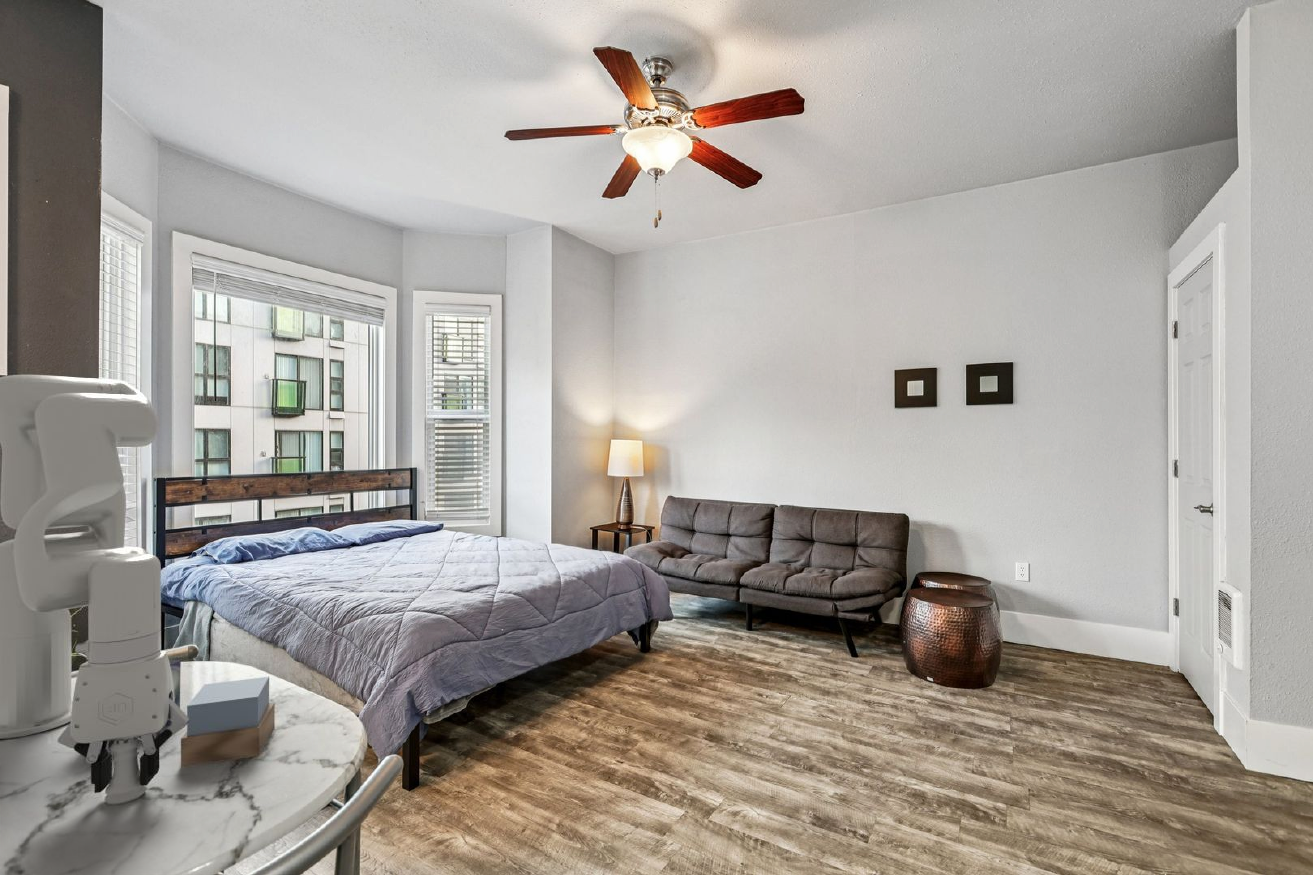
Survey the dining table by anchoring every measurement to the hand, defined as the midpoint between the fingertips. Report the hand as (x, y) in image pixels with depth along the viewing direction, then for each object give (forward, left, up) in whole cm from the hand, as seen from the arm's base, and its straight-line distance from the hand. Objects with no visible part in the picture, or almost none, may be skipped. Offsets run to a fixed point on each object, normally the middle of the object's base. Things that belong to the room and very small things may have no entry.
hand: (125, 782), depth 86 cm
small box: (-7, +23, -2) cm, 24 cm away
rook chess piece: (0, 0, -2) cm, 2 cm away
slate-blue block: (+9, +12, +2) cm, 15 cm away
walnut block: (+9, +12, -2) cm, 15 cm away
